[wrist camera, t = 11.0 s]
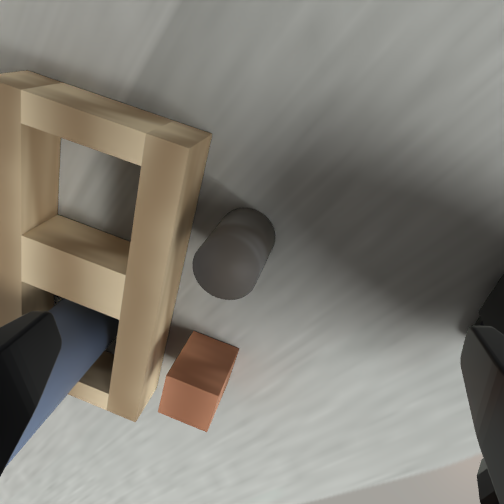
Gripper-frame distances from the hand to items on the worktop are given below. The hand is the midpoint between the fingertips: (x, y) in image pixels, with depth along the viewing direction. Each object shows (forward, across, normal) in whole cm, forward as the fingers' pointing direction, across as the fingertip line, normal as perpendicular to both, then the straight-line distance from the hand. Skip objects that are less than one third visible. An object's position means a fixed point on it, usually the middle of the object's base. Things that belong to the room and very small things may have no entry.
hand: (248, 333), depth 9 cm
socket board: (+13, +9, +7) cm, 18 cm away
